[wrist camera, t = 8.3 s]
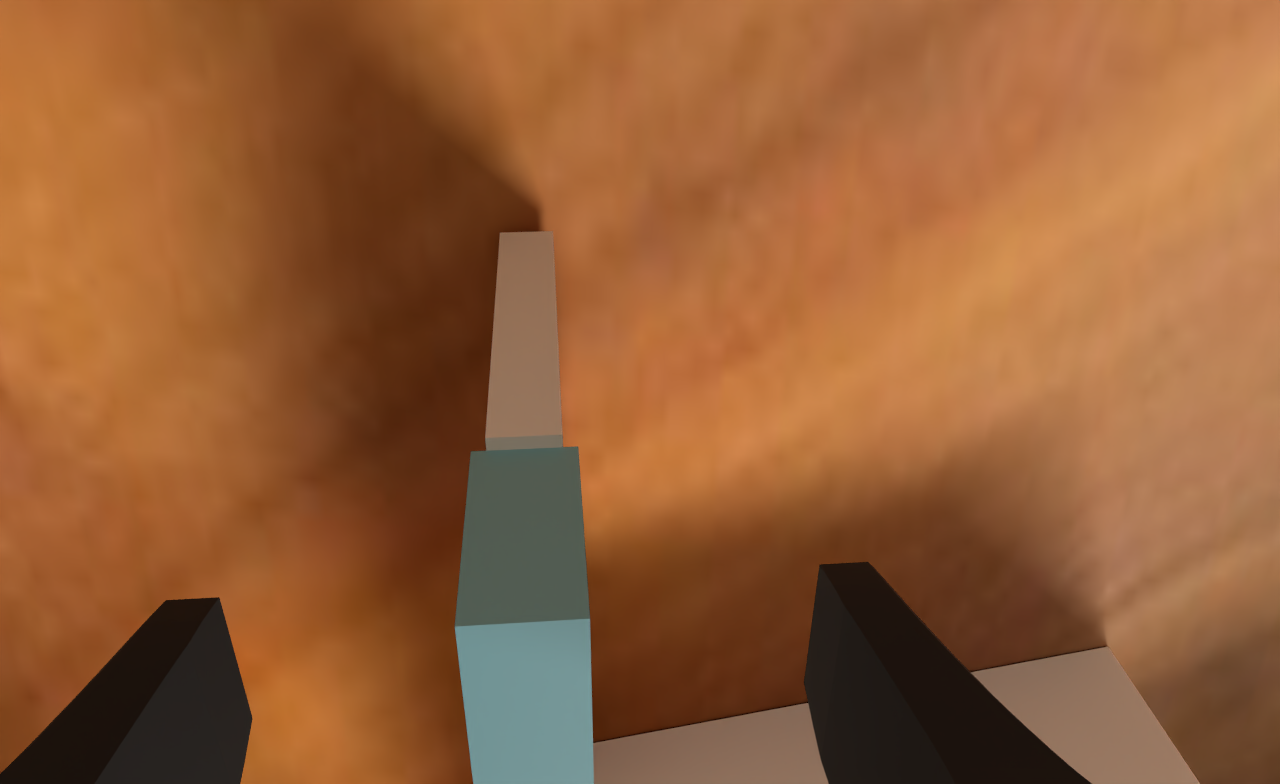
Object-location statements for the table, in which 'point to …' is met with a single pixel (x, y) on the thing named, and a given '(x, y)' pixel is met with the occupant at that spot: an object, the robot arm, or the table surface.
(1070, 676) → the carton
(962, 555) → the table surface
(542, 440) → the green beige flat block
